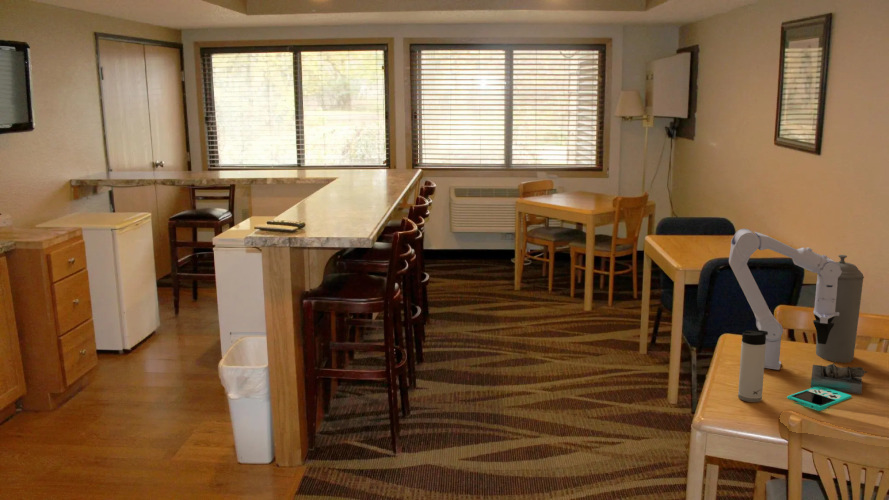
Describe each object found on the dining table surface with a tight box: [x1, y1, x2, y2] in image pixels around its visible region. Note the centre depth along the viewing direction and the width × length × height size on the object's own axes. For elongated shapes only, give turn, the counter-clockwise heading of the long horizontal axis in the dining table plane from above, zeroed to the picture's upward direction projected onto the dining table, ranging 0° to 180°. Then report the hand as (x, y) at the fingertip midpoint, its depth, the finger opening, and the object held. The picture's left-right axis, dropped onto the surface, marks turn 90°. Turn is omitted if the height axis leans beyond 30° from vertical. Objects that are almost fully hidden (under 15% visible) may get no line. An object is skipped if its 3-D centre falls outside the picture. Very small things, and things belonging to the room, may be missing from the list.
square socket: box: [810, 364, 863, 395], centre depth 216 cm, size 13×13×3 cm
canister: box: [815, 254, 865, 364], centre depth 235 cm, size 13×13×35 cm
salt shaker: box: [820, 362, 868, 379], centre depth 214 cm, size 6×6×12 cm
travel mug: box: [737, 329, 768, 403], centre depth 204 cm, size 6×7×20 cm
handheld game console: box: [786, 387, 852, 412], centre depth 205 cm, size 10×16×1 cm, turn 122°
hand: (822, 340), depth 224 cm, fingers open, 7 cm apart
